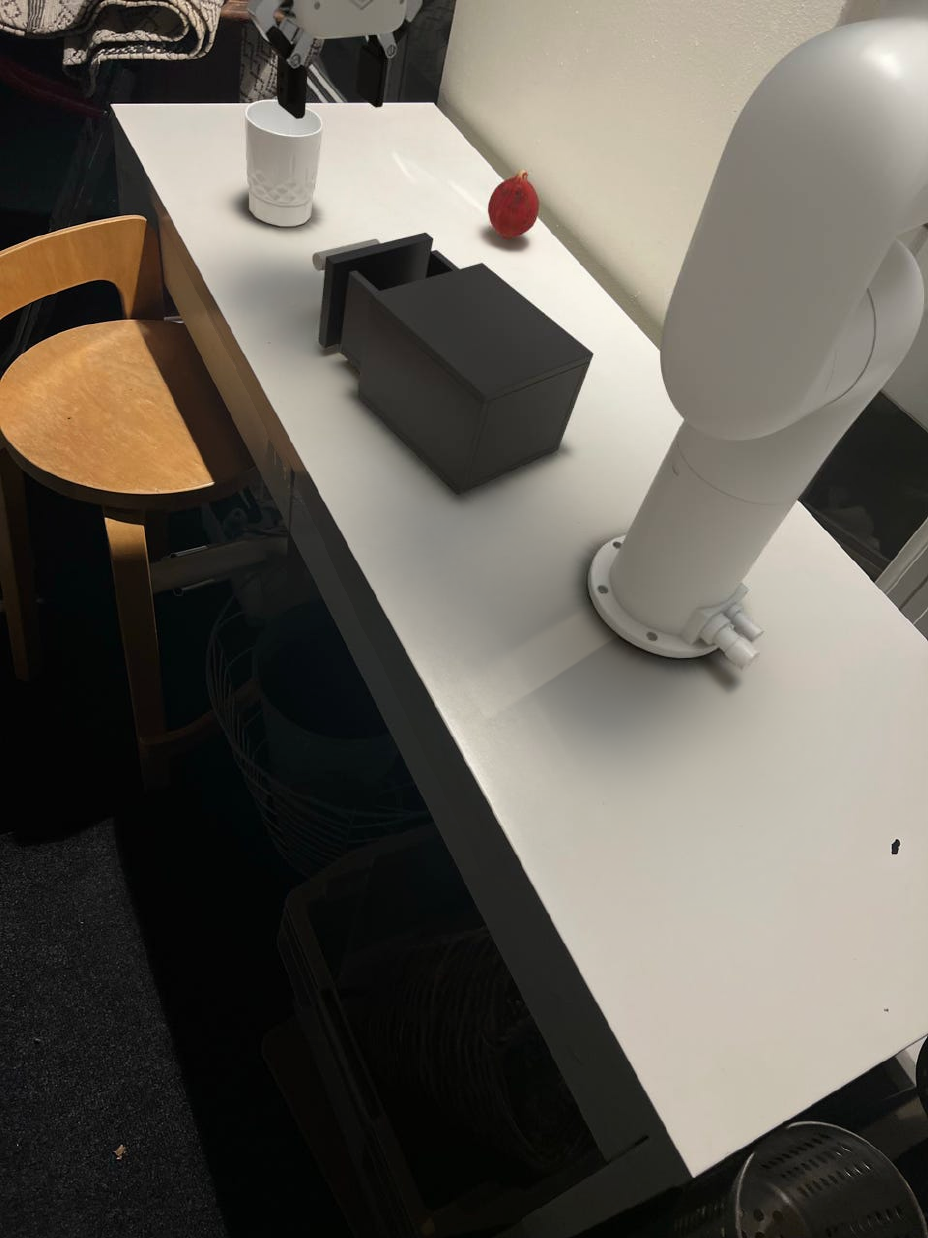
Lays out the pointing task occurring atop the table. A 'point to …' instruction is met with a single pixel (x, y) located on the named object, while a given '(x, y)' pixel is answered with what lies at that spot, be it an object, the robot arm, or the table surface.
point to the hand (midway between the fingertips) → (330, 104)
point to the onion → (513, 206)
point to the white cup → (281, 162)
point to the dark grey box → (469, 374)
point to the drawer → (368, 284)
